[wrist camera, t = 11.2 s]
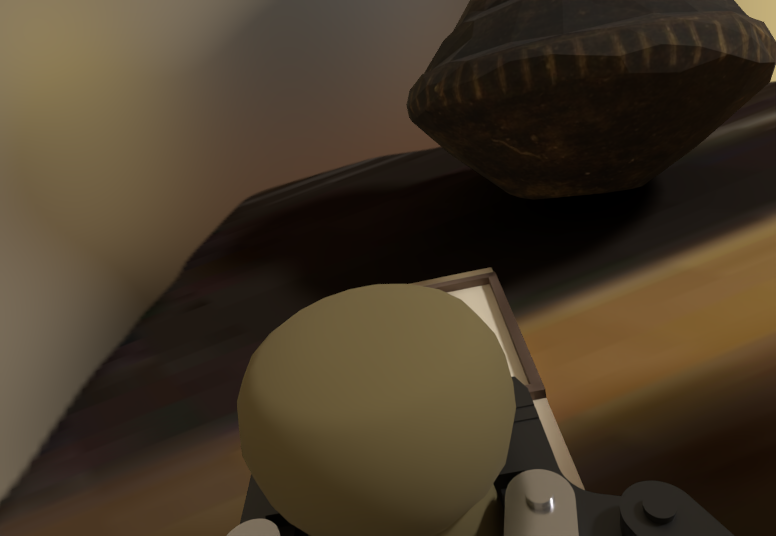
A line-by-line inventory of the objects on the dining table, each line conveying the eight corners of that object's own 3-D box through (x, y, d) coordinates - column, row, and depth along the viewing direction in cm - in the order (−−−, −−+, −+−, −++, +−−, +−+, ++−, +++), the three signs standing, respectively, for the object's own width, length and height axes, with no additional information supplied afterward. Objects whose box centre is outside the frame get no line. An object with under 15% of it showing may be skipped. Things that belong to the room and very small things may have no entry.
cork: (406, 884, 11) (219, 543, 6) (313, 625, 16) (168, 323, 11) (626, 704, 13) (614, 330, 8) (481, 521, 18) (419, 221, 13)
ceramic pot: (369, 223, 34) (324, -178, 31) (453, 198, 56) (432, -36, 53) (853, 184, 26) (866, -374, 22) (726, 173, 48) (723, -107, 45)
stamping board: (493, 280, 36) (490, 260, 35) (945, 1387, 8) (976, 1398, 7) (330, 313, 37) (324, 294, 36) (201, 1424, 9) (162, 1436, 8)
